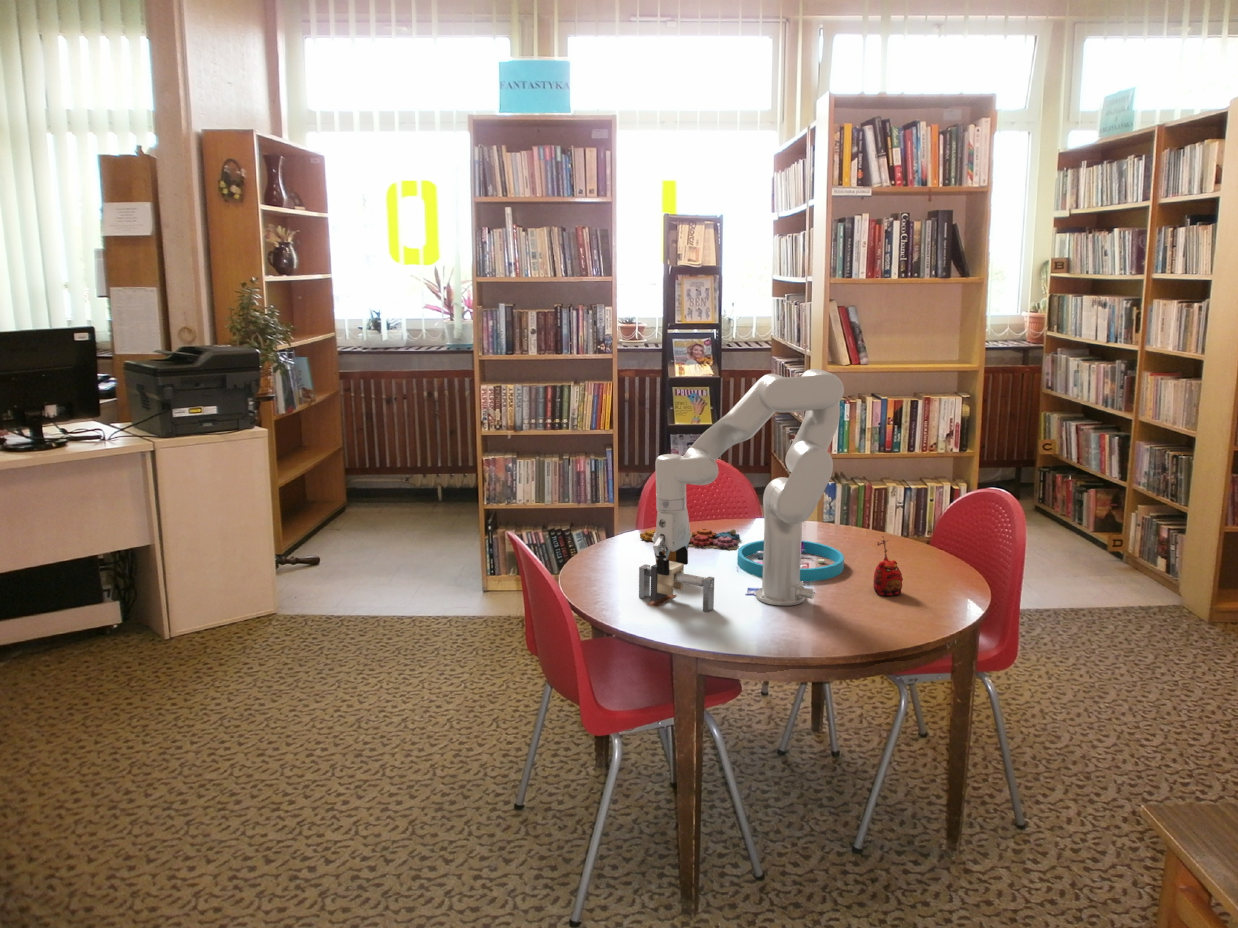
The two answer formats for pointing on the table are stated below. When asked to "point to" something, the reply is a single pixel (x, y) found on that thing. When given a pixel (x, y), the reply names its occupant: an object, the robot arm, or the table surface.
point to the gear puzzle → (706, 539)
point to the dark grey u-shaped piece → (655, 585)
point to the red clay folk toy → (887, 576)
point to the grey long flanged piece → (682, 578)
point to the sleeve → (670, 579)
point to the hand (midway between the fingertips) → (672, 569)
